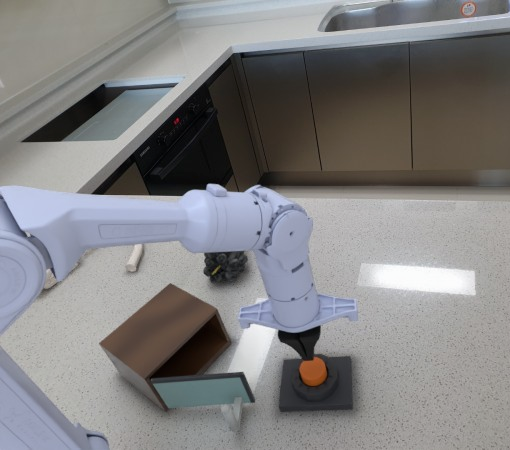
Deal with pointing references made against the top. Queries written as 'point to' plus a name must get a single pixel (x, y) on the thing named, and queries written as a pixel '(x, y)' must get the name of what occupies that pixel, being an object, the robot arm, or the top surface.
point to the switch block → (317, 397)
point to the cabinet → (167, 340)
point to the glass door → (208, 393)
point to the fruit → (224, 265)
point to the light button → (313, 372)
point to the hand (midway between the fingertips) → (308, 354)
